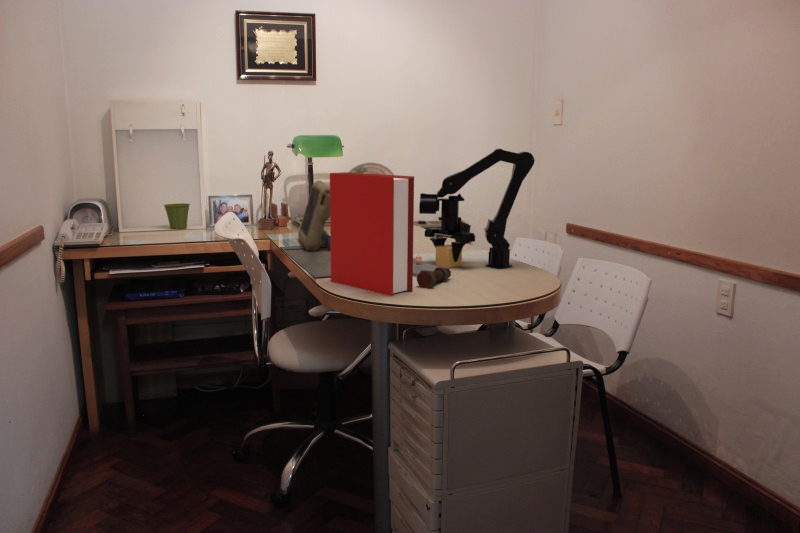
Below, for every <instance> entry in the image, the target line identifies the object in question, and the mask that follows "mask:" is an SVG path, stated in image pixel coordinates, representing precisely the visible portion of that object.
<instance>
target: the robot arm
mask: <svg viewBox="0 0 800 533" xmlns="http://www.w3.org/2000/svg"><path fill="white" fill-rule="evenodd" d="M499 162H504V163H508V164H512V170H511V176H510V179H509V182H508V185H507V187H506V190H505V192H504V194H503V197H502V199H501V202H500V204H499V207H498V210H497V212H496V214H495V215H494V217H493V219H489V218H488V220H487V224H486V225H485V226H486V227H484V229H483V230H484V236H485V239H486V242H488V244H490V245H491V246H492V247H491V246H490V247H489V251H488V260H487V262H488V263H486V264H485V266H486V267H490V268H496V269H505V268H511V267H513V265H512V264H510V255H511V254H510V253H511V252H510V250H511V249H510V246H511V244H510V242H509V241H508V240H507V239H506V238H505V235H506V234H505V233H506V228H507V222H508V221H507V220H508V219H509V218H508V217H509V215H510V213H511V211H512V208H513V207H514V206H513V205H514V204H515V200H516V199H517V196H518V193H519V190H520V189H521V186H522V183H523V181H524V180H525V178H526V177H527V176H528V175H529V173H530V171H531V169H532V168H533V166H534V165H535V157H534V155H533V154H532V153H531V152H529V151H519V152H518V153H517V152H514V151H509V150H504V149H503V148H496V149H494V150H493V151H492V152H491V153H488V154H487V155H485V156H484V157H482V158H481V159H479V160H478V161H476V162H474V163H473V164H472V165H470V166H468V167H467V168H465V169H464V170H460V171H459V172H455V173H453V174H451V175H448V176H446V177H445V178H443V180H442V183H441V187H440V189H439V190H438V191H437V193H426V192H425V193H423V192H421V193H420V196H419V205H418V206H419V207H418V211H419V212H418V214H421V215H426V214H427V215H436V214H437V212H441V216H438V221H440V227H436V226H435V227H428V228H426V229H425V230H424V237H426V238H429V240H430V241H431V242H432V245H433V246H434V248H435V249H436V246H442V245H446V244H445V243H446V241H447V240H448V238H449V239H454V241H451V244H450V245H452V252H453V258H454V262H457V260H458V258H459V255H460V253H461V250H462V251H463V249H464V246H465V245H466V244H469V243H473V242H474V243H475V241H476V235H475V233H474V232H470V230H471V227H472V225H470V224H468V223H466V222H463V221H462V218H461V217H460V216H459V208H460V207H459V203H460V202H465V198H464V197H463V196H462V194H461V193H458V194H457V195H454V194H456V193H457V192H459V191H460V190H461V188H463V187H464V186H465V185H467V183H468V182H469V181H471V180H472V179H473V178H475V177H476V176H479V174H482V173H483V172H485V171H486V170H488V169H489V168H491V167H493V166H494V165H496V164H497V163H499ZM447 195H448V197H447V198H446V196H447ZM444 197H445V198H444ZM440 202H441V209H440ZM440 210H441V211H440Z"/></svg>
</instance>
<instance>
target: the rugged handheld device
mask: <svg viewBox="0 0 800 533" xmlns="http://www.w3.org/2000/svg"><path fill="white" fill-rule="evenodd" d="M328 219H330V184H325V183H324V182H323V181H322V180H316V181H314V182H313V183H312V185H311V188H310V192H309V195H308V201H307V205H306V207H305V211H304V214H303V218H302V220H301V224H300V227H299V230H298V234H297V235H298V239H299V243H300V244H301V246H302V247H303V248H304V249H305V251H310V252H317V251H318V250H319V249H320V248H321V245H322V242H323V244H324V245H325V247H326V249H327V250H328V251H330V252H331V240H330V234H329V233H328V231H326V230H325V225H326V222H327V221H328Z"/></svg>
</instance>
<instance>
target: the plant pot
mask: <svg viewBox="0 0 800 533" xmlns="http://www.w3.org/2000/svg"><path fill="white" fill-rule="evenodd" d="M163 206H164V209H165V212H166V215H167V216H166V217H167V219H168V223H169V228H170V229H171V230H173V229H174V230H183V229H187V227H188V218H189V217H188V216H189V211H190V206H191V203H168V204H163Z"/></svg>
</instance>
